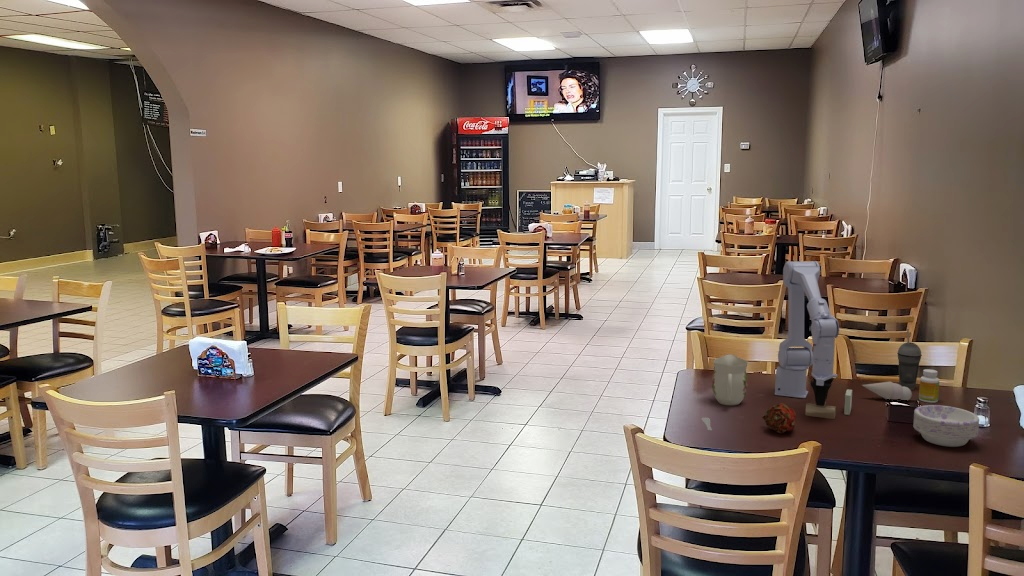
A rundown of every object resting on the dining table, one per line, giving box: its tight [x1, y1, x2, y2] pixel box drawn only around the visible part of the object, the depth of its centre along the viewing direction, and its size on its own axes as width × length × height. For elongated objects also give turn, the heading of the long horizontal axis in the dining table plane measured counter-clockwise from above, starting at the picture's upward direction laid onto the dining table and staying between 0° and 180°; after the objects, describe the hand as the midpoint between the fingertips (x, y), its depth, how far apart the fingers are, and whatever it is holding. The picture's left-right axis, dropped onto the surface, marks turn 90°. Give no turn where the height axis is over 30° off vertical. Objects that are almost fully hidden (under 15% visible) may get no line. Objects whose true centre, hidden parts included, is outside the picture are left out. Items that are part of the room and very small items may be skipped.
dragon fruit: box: [761, 402, 797, 434], centre depth 215 cm, size 8×8×12 cm
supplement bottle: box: [918, 368, 940, 404], centre depth 242 cm, size 5×5×10 cm
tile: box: [843, 389, 853, 416], centre depth 232 cm, size 2×7×6 cm, turn 153°
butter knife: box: [701, 417, 713, 431], centre depth 216 cm, size 1×24×3 cm
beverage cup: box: [897, 328, 922, 391], centre depth 255 cm, size 7×7×20 cm
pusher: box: [805, 401, 837, 420], centre depth 228 cm, size 3×8×9 cm, turn 63°
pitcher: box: [711, 353, 749, 406], centre depth 241 cm, size 11×18×14 cm, turn 164°
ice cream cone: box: [861, 381, 913, 401], centre depth 243 cm, size 6×6×15 cm
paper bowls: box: [912, 404, 980, 448], centre depth 206 cm, size 15×15×8 cm
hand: (820, 403), depth 228 cm, fingers open, 4 cm apart
